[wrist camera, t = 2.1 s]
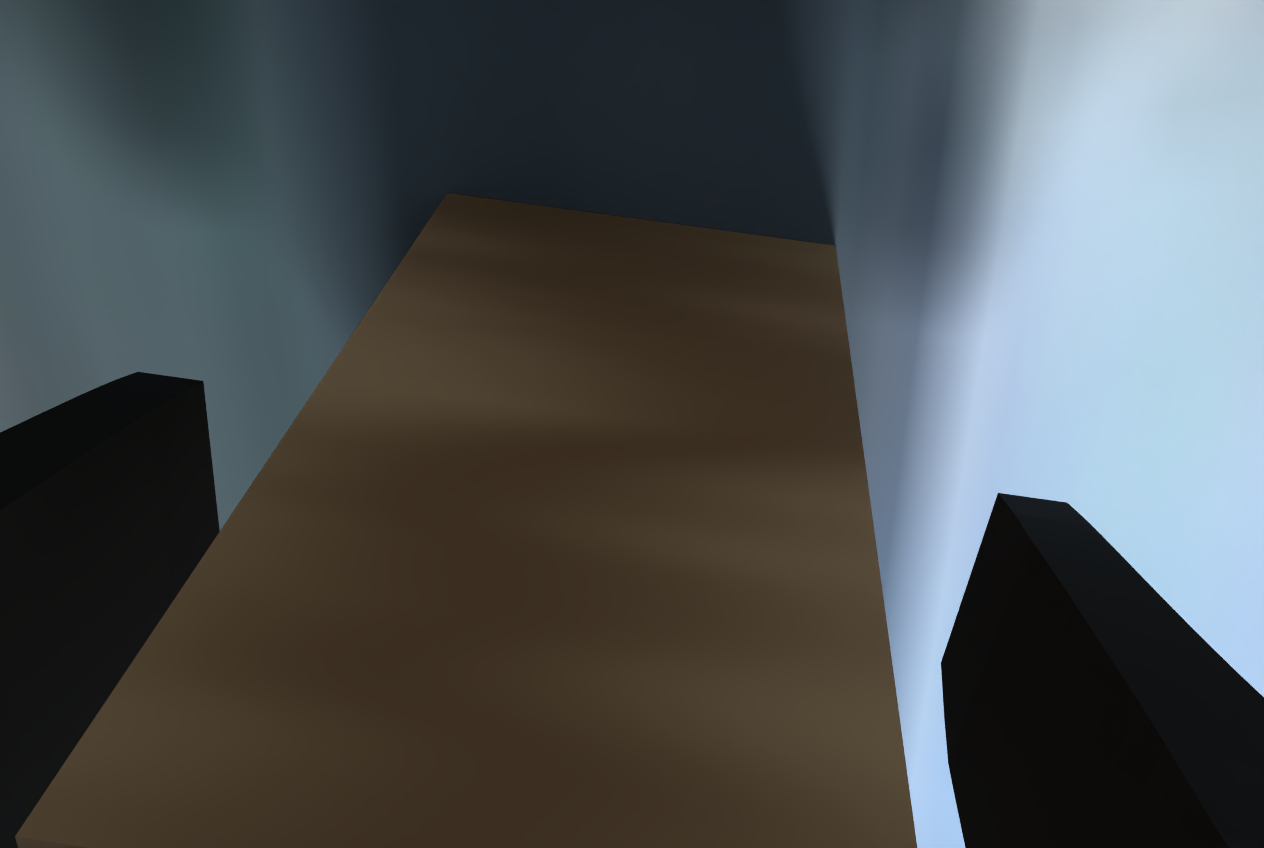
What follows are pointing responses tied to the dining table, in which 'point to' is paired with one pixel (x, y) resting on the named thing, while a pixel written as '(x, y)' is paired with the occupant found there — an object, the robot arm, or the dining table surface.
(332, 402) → the brown wooden block
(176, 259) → the dining table surface
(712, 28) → the dining table surface
